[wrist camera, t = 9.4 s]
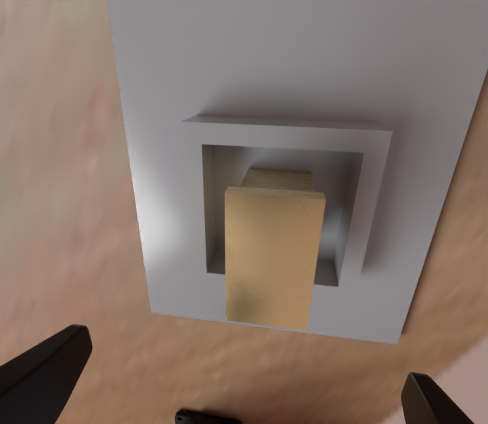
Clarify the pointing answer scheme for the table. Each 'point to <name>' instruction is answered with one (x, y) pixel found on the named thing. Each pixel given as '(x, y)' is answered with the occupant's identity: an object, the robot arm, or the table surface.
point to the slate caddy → (297, 138)
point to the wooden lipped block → (272, 247)
